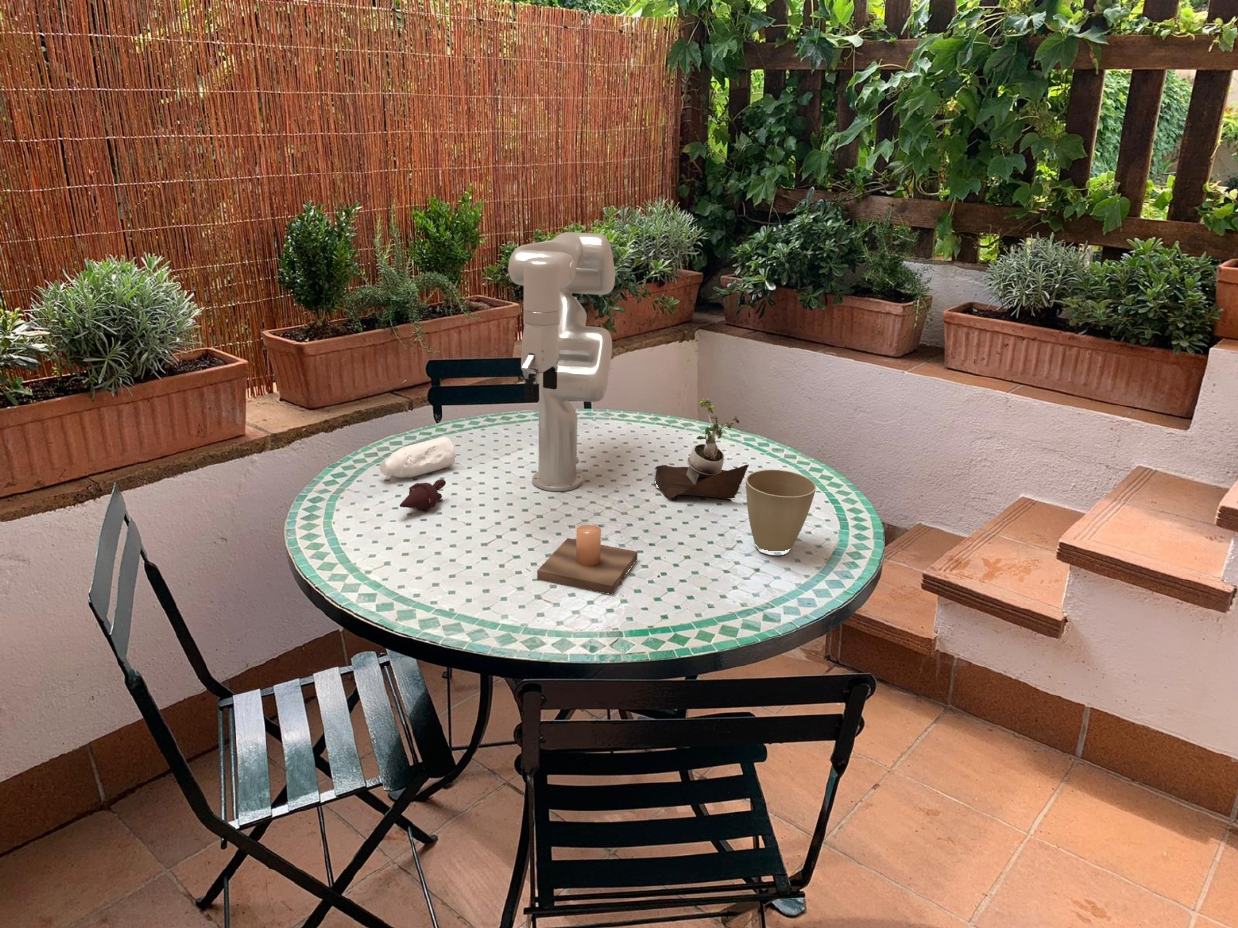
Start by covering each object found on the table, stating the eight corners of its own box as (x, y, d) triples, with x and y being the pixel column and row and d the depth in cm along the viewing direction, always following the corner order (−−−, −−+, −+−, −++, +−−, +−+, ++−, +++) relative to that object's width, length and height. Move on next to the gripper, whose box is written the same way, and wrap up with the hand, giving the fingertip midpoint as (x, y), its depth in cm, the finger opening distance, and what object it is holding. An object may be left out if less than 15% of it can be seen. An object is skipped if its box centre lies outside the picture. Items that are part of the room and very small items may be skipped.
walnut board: (567, 546, 201) (567, 537, 200) (637, 560, 196) (637, 551, 195) (537, 579, 187) (537, 570, 186) (611, 594, 182) (611, 585, 181)
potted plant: (722, 480, 246) (751, 402, 231) (731, 526, 230) (763, 446, 216) (650, 468, 242) (675, 388, 228) (654, 513, 227) (681, 431, 213)
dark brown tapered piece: (415, 499, 205) (458, 483, 218) (391, 484, 208) (434, 469, 220) (409, 526, 208) (451, 508, 221) (385, 511, 210) (428, 494, 223)
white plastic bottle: (375, 478, 232) (373, 449, 229) (439, 461, 244) (438, 433, 241) (391, 488, 226) (390, 458, 223) (456, 470, 239) (455, 441, 236)
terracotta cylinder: (581, 553, 194) (581, 523, 191) (603, 556, 192) (604, 526, 190) (572, 563, 189) (572, 533, 186) (595, 567, 188) (596, 537, 185)
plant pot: (755, 568, 195) (762, 499, 189) (729, 537, 208) (735, 471, 202) (819, 561, 199) (828, 493, 193) (789, 531, 212) (797, 467, 206)
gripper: (541, 307, 204) (541, 381, 210) (507, 324, 189) (508, 403, 195) (573, 311, 202) (571, 386, 208) (541, 328, 186) (540, 408, 193)
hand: (541, 394), depth 202 cm, fingers open, 9 cm apart
